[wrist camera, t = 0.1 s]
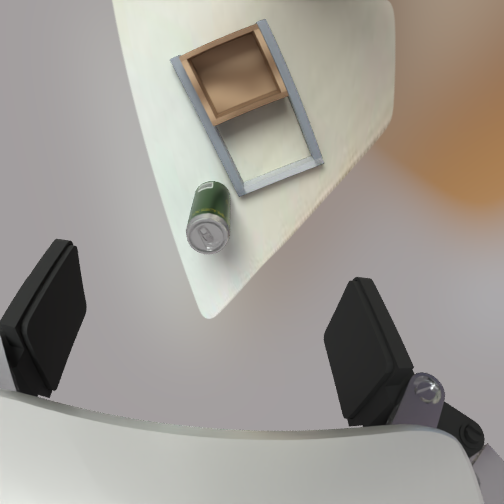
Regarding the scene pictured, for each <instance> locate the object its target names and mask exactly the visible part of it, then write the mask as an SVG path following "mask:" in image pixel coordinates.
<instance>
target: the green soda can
mask: <svg viewBox="0 0 504 504" xmlns="http://www.w3.org/2000/svg"><path fill="white" fill-rule="evenodd" d="M186 235H187V240H188V242H189V244H190V246H191V247H192V248H193V249H194V250H196V251H197V252H199V253H203V254H213V253H217V252H219V251H220V250H222V249H223V248H224V246H225V245H226V243H227V241H228V239H229V236H230V193H229V191H228V189H227V188H226V187H225V186H224V185H223V184H221V183H219V182H215V181H208V182H205V183H203V184H201V185H200V186H199V187H198V188H197V190H196V192H195V196H194V200H193V204H192V208H191V212H190V216H189V220H188V224H187V229H186Z"/></svg>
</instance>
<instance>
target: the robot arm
mask: <svg viewBox="0 0 504 504" xmlns="http://www.w3.org/2000/svg"><path fill="white" fill-rule="evenodd" d="M85 314H86V300H85V295H84V289H83V284H82V277H81V271H80V264H79V258H78V250H77V247H76V246H73V243H72V241H68V240H61V239H56V240H54V242H53V243H52V244H51V246H50V247H49V249H48V250H47V251H46V252H45V254H44V255H43V257H42V258H41V259H40V261H39V262H38V264H37V265H36V266H35V268H34V269H33V271H32V272H31V274H30V275H29V277H28V278H27V279H26V280H25V282H24V283H23V285H22V286H21V288H20V290H19V291H18V293H17V294H16V296H15V297H14V299H13V301H12V302H11V304H10V305H9V307H8V309H7V310H6V312H5V314H4V315H3V317H2V319H1V320H0V504H504V461H503V460H502V459H501V458H500V456H499V455H498V454H497V453H496V452H495V451H494V450H493V448H492V447H491V446H490V445H489V444H488V443H487V444H486V445H484V434H483V431H482V429H481V427H480V426H479V425H478V424H477V423H476V422H475V421H473V420H472V419H470V418H469V417H467V416H466V415H464V414H463V413H461V412H460V411H458V410H457V409H455V408H453V407H451V406H450V405H449V404H447V403H446V402H444V400H445V392H444V388H443V386H442V384H441V383H440V382H439V381H438V380H437V379H436V378H435V377H434V376H432V375H430V374H428V373H423V372H420V373H416V374H414V372H413V370H412V369H413V368H414V366H413V364H412V362H411V360H410V357H409V355H408V353H407V351H406V348H405V346H404V344H403V342H402V340H401V337H400V335H399V333H398V331H397V329H396V327H395V325H394V323H393V321H392V319H391V316H390V315H389V313H388V310H387V309H386V306H385V304H384V302H383V300H382V298H381V296H380V294H379V292H378V290H377V288H376V286H375V284H374V282H373V281H372V279H370V278H361V277H356V278H354V279H353V281H349V283H348V284H347V287H346V289H345V291H344V293H343V295H342V298H341V300H340V302H339V304H338V306H337V308H336V310H335V312H334V314H333V317H332V319H331V321H330V323H329V325H328V327H327V329H326V331H325V334H324V343H325V347H326V351H327V354H328V358H329V362H330V366H331V370H332V374H333V377H334V382H335V386H336V389H337V393H338V398H339V402H340V405H341V410H342V414H343V416H344V418H346V419H347V420H348V424H349V426H359V425H363V427H360V428H345V429H329V430H308V431H250V430H228V429H212V428H201V427H190V426H181V425H172V424H165V423H157V422H150V421H144V420H137V419H131V418H126V417H120V416H115V415H110V414H105V413H100V412H96V411H91V410H87V409H82V408H78V407H74V406H70V405H66V404H61V403H58V402H54V401H50V400H46V399H43V398H39V397H37V396H38V395H41V396H45V397H48V398H50V395H51V393H52V390H54V391H55V390H56V389H57V387H58V384H59V381H60V379H61V376H62V373H63V370H64V367H65V365H66V362H67V359H68V357H69V354H70V351H71V348H72V346H73V343H74V341H75V338H76V336H77V333H78V331H79V328H80V326H81V324H82V321H83V319H84V316H85Z"/></svg>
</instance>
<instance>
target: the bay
mask: <svg viewBox="0 0 504 504" xmlns="http://www.w3.org/2000/svg"><path fill="white" fill-rule="evenodd" d="M256 24H257V25H258V27H259V29H260V31H261V33H262V35H263V38H264V40H265V42H266V44H267V46H268V48H269V51H270V53H271V55H272V57H273V60H274V62H275V64H276V66H277V69H278V71H279V73H280V76H281V78H282V80H283V83H284V85H285V87H286V90H287V92H288V95H289V96H288V97H289V100H290V102H291V105H292V107H293V110H294V112H295V115H296V117H297V120H298V122H299V125H300V127H301V130H302V133H303V135H304V138H305V140H306V143H307V146H308V148H309V151H310V154H311V156H310V157H307V158H304V159H302V160H299V161H296V162H294V163H291V164H289V165H286V166H284V167H281V168H278V169H276V170H273V171H271V172H268V173H266V174H263V175H261V176H258V177H256V178H254V179H251V180H249V181H246V182H244V183H243V181H242V179H241V177H240V174H239V172H238V170H237V168H236V166H235V164H234V162H233V160H232V158H231V156H230V154H229V152H228V150H227V148H226V146H225V144H224V141H223V139H222V137H221V135H220V133H219V131H218V129H217V127H216V126H214V127H213V125H212V123H211V121H210V118H209V116H208V114H207V112H206V110H205V108H204V106H203V104H202V102H201V100H200V98H199V96H198V94H197V92H196V90H195V89H194V87H193V85H192V83H191V81H190V79H189V77H188V75H187V73H186V71H185V69H184V67H183V65H182V63H181V61H180V59H179V57H180V56H181V55H178V56H176V57H174V58H172V59H170V61H171V63H172V65H173V67H174V69H175V71H176V73H177V75H178V77H179V79H180V80H181V82H182V84H183V86H184V88H185V90H186V92H187V94H188V96H189V98H190V100H191V102H192V104H193V106H194V108H195V110H196V112H197V114H198V116H199V118H200V120H201V122H202V124H203V126H204V128H205V130H206V132H207V134H208V136H209V138H210V140H211V142H212V144H213V146H214V148H215V150H216V152H217V154H218V156H219V158H220V160H221V162H222V164H223V166H224V168H225V170H226V172H227V174H228V176H229V178H230V180H231V182H232V184H233V186H234V188H235V190H236V192H237V194H238V196H239V197H240V196H242V195H245V194H247V193H249V192H252V191H254V190H257V189H259V188H262V187H264V186H267V185H269V184H272V183H274V182H277V181H279V180H282V179H284V178H287V177H290V176H292V175H295V174H297V173H300V172H303V171H305V170H308V169H310V168H313V167H316V166H318V165H321V164H324V161H323V158H322V155H321V153H320V150H319V147H318V144H317V141H316V139H315V136H314V133H313V130H312V128H311V125H310V122H309V120H308V117H307V115H306V112H305V109H304V107H303V104H302V102H301V99H300V97H299V94H298V92H297V89H296V87H295V84H294V82H293V79H292V77H291V75H290V72H289V70H288V68H287V65H286V63H285V61H284V58H283V56H282V54H281V52H280V49H279V47H278V45H277V43H276V40H275V38H274V36H273V34H272V32H271V30H270V27H269V25H268V23H267V21H266V19H264V20H261V21H258V22H256Z"/></svg>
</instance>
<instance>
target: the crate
mask: <svg viewBox="0 0 504 504" xmlns="http://www.w3.org/2000/svg"><path fill="white" fill-rule="evenodd" d="M179 59H180V61H181V63H182V65H183V67H184V69H185V71H186V73H187V75H188V77H189V79H190V81H191V83H192V85H193V87H194V89H195V90H196V92H197V94H198V96H199V98H200V100H201V102H202V104H203V106H204V108H205V110H206V112H207V114H208V116H209V118H210V121H211V123H212V125H213V127H214V126H216V125H218V124H220V123H223V122H225V121H227V120H229V119H232V118H234V117H236V116H239V115H241V114H243V113H246V112H248V111H251V110H253V109H256V108H258V107H261V106H263V105H266V104H268V103H271V102H273V101H276V100H279V99H281V98H284V97H287V96H289V95H288V92H287V90H286V87H285V85H284V83H283V80H282V78H281V76H280V73H279V71H278V69H277V66H276V64H275V62H274V60H273V57H272V55H271V53H270V51H269V48H268V46H267V44H266V42H265V40H264V38H263V35H262V33H261V31H260V29H259V27H258V25H257V24H255V25H252V26H249V27H247V28H244V29H241V30H239V31H236V32H234V33H231V34H229V35H226V36H224V37H221V38H219V39H217V40H214V41H212V42H210V43H208V44H205V45H203V46H201V47H199V48H197V49H194V50H192V51H190V52H188V53H186V54H184V55H182V56H180V57H179Z"/></svg>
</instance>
